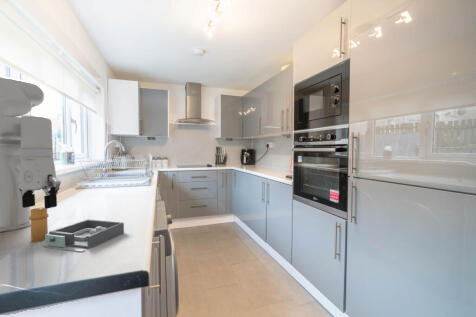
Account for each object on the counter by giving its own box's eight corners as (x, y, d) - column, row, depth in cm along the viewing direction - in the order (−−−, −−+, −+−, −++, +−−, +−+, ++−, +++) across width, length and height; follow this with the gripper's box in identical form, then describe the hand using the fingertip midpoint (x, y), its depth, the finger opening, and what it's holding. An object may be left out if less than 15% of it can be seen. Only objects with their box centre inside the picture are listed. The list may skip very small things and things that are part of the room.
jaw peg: (26, 241, 68) (25, 210, 68) (42, 236, 73) (41, 206, 73) (36, 242, 67) (35, 211, 67) (52, 237, 72) (51, 207, 71)
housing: (40, 246, 65) (40, 233, 64) (88, 228, 79) (87, 218, 79) (81, 252, 60) (81, 238, 60) (123, 232, 75) (123, 221, 75)
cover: (42, 245, 64) (42, 235, 63) (47, 243, 65) (47, 234, 65) (60, 248, 62) (59, 238, 62) (65, 246, 63) (64, 236, 63)
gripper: (4, 155, 68) (6, 209, 68) (44, 153, 63) (46, 210, 64) (32, 155, 75) (34, 204, 75) (69, 153, 71) (71, 205, 71)
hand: (39, 207), depth 69 cm, fingers open, 9 cm apart
